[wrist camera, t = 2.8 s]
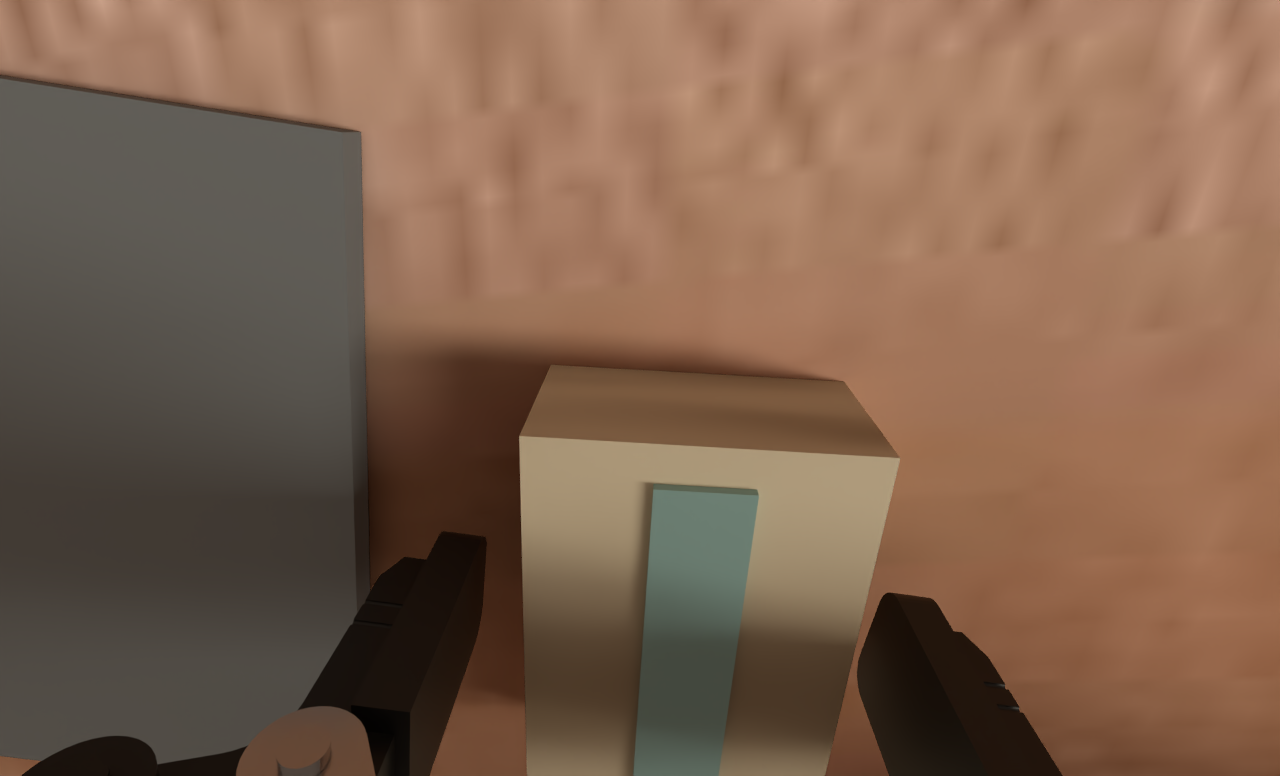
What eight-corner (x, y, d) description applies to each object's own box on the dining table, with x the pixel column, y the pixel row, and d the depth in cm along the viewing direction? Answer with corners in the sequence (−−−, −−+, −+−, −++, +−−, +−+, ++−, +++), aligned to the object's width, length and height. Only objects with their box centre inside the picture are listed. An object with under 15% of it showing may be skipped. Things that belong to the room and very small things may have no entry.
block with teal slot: (553, 358, 11) (516, 441, 8) (839, 375, 11) (905, 463, 8) (553, 696, 14) (527, 843, 11) (777, 709, 14) (808, 860, 11)
